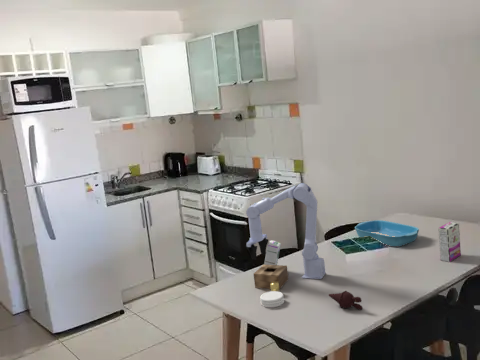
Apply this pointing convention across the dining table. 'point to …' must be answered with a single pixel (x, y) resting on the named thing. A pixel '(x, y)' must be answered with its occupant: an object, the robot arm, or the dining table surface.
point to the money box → (270, 276)
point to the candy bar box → (449, 241)
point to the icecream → (346, 300)
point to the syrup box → (272, 253)
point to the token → (274, 286)
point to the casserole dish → (388, 232)
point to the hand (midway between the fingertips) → (258, 256)
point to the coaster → (272, 299)
